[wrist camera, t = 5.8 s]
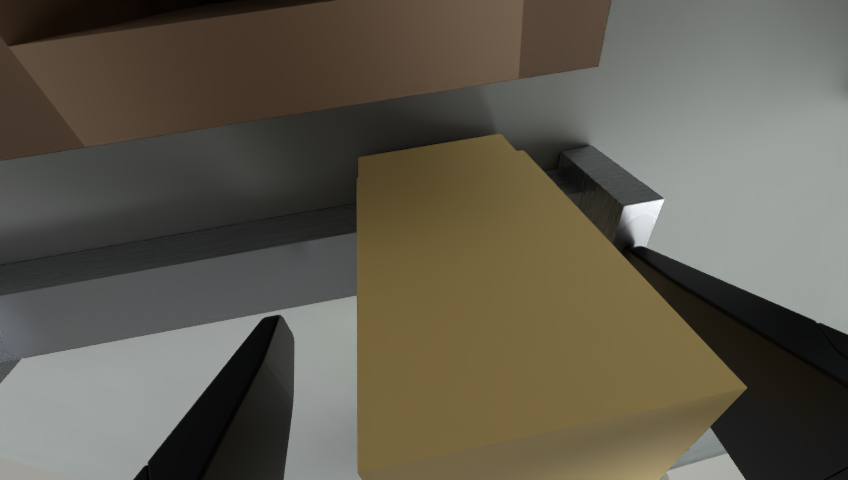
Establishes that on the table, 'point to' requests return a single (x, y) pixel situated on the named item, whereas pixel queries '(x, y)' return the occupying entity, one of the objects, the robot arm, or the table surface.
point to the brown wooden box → (259, 59)
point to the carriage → (512, 331)
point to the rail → (247, 268)
